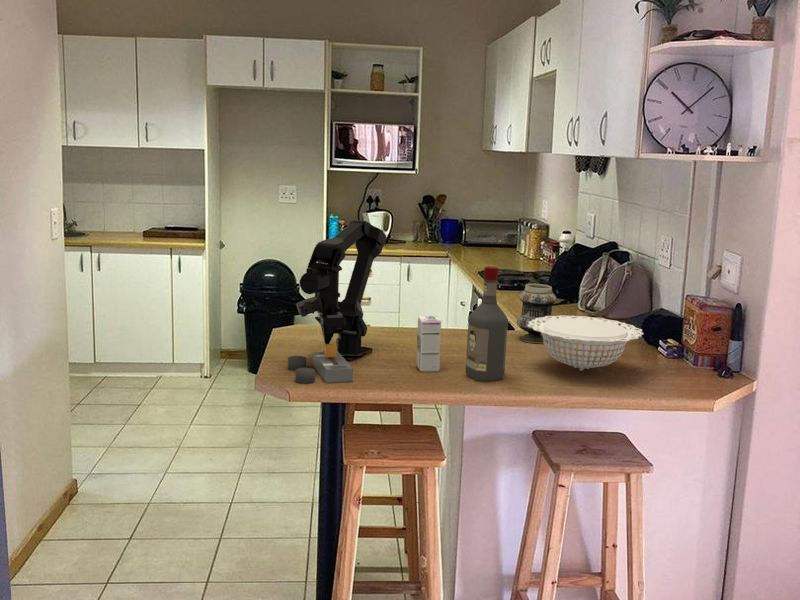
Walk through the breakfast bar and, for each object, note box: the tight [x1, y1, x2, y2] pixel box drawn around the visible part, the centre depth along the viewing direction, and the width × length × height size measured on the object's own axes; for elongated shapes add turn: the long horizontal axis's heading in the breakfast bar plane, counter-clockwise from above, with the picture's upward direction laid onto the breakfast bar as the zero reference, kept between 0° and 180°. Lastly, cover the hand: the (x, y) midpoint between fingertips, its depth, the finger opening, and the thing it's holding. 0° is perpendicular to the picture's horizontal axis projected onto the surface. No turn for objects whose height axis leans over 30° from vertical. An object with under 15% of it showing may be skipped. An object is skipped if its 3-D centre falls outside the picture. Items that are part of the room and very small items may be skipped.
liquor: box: [464, 266, 509, 383], centre depth 221 cm, size 9×9×30 cm
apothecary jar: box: [516, 283, 557, 344], centre depth 267 cm, size 12×12×18 cm
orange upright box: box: [323, 343, 337, 357], centre depth 224 cm, size 3×2×3 cm, turn 107°
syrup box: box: [415, 315, 442, 372], centre depth 228 cm, size 6×6×14 cm
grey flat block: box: [312, 351, 354, 384], centre depth 222 cm, size 7×18×4 cm, turn 17°
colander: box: [528, 315, 644, 372], centre depth 233 cm, size 32×32×13 cm
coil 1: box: [287, 355, 307, 372], centre depth 225 cm, size 5×5×3 cm
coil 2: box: [295, 367, 316, 385], centre depth 214 cm, size 5×5×3 cm
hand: (326, 343), depth 228 cm, fingers closed
